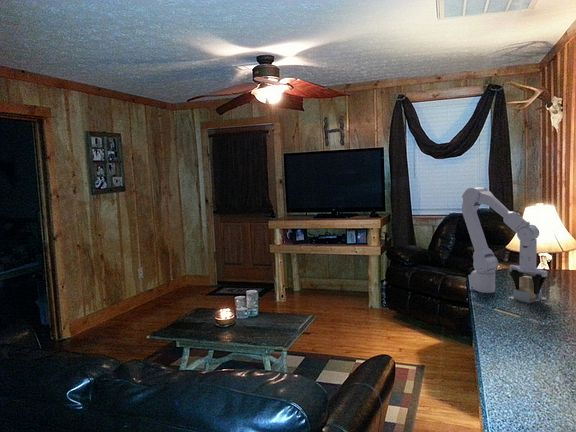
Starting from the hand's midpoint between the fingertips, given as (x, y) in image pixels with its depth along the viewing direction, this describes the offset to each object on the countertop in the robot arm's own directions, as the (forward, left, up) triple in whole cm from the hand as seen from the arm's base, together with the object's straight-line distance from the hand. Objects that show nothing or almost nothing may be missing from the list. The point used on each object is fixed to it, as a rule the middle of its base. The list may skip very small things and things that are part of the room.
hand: (527, 291), depth 175 cm
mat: (+7, -14, -3) cm, 16 cm away
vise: (0, 0, -3) cm, 3 cm away
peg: (0, 0, -2) cm, 2 cm away
